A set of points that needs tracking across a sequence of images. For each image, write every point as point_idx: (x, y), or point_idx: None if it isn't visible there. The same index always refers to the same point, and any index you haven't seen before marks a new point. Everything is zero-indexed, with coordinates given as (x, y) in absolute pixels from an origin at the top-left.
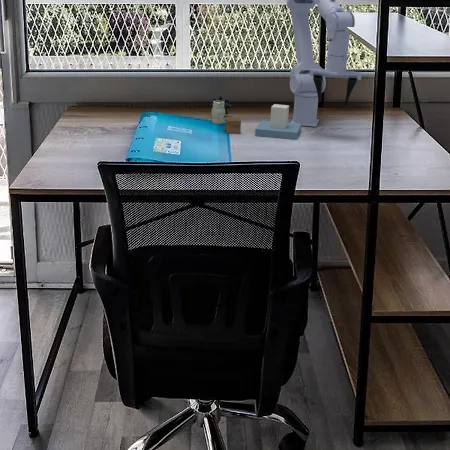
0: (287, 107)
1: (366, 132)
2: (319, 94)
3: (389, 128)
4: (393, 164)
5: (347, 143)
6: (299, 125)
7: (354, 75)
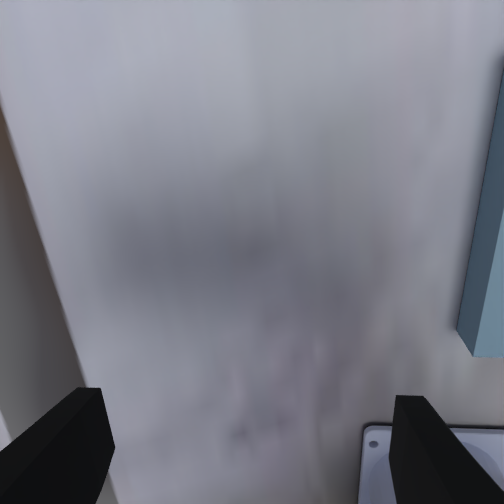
0: None
1: None
2: (457, 473)
3: None
4: None
5: (126, 104)
6: (490, 310)
7: None
